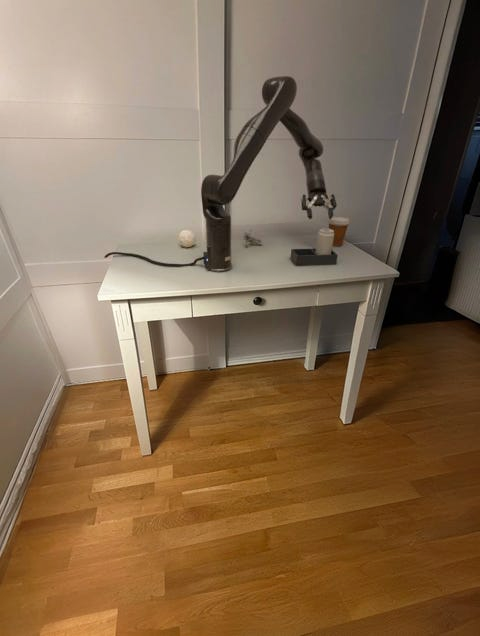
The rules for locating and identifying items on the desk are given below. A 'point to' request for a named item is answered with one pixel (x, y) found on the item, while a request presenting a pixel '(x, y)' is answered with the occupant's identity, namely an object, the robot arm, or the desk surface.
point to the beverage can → (324, 242)
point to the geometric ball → (187, 238)
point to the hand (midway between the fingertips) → (320, 218)
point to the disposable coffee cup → (338, 229)
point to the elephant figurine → (251, 239)
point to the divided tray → (312, 257)
